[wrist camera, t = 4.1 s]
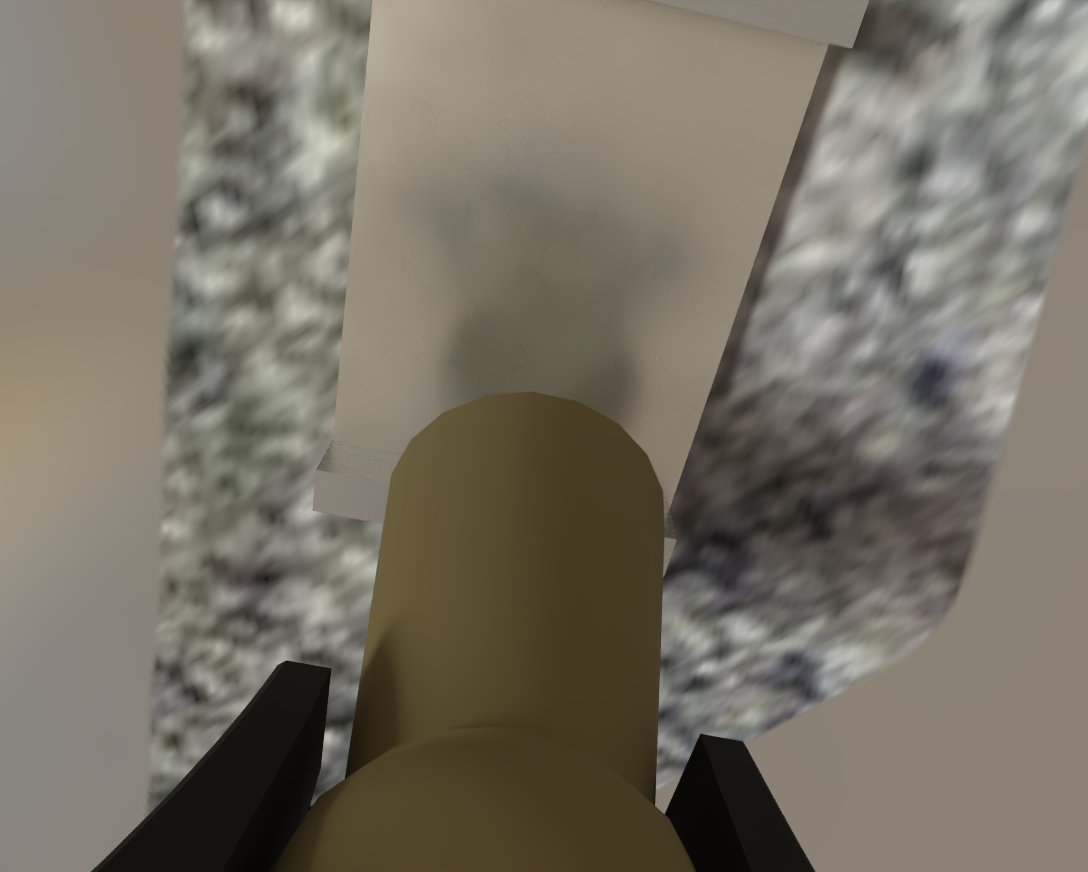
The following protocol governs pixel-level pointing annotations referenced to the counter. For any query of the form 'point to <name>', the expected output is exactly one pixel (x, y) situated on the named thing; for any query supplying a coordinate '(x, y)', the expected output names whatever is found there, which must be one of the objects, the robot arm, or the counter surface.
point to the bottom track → (561, 212)
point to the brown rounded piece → (508, 657)
